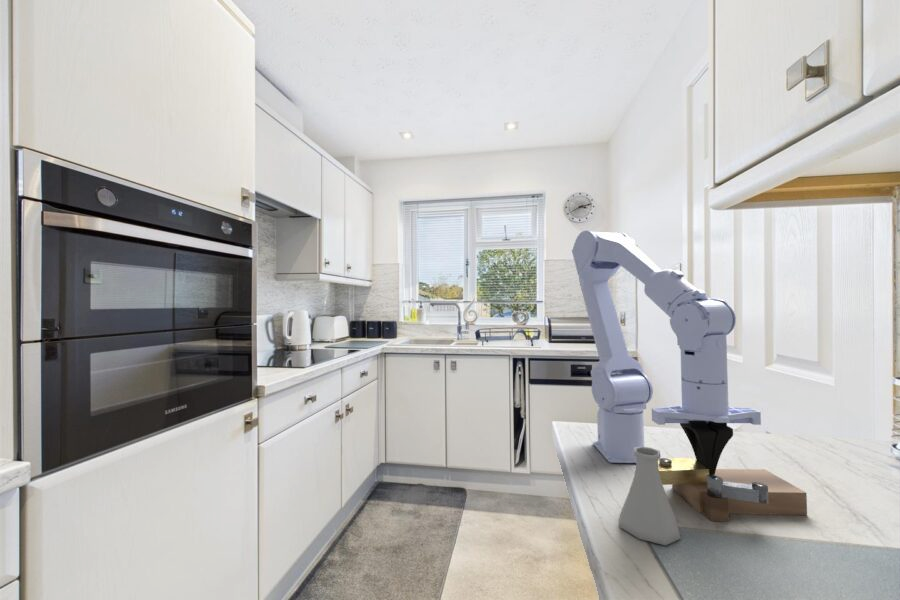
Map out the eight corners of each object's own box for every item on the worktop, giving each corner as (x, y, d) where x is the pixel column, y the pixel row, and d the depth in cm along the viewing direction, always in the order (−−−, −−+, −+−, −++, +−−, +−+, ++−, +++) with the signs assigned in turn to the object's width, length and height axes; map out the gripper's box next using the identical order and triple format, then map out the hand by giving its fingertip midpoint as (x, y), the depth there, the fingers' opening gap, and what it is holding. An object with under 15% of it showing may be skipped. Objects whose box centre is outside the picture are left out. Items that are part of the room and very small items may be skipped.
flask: (609, 528, 48) (607, 451, 48) (629, 506, 53) (627, 436, 53) (672, 555, 42) (670, 468, 43) (688, 527, 47) (686, 450, 48)
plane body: (672, 487, 57) (671, 468, 57) (765, 489, 57) (765, 469, 57) (708, 520, 49) (707, 498, 49) (819, 522, 48) (818, 499, 48)
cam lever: (764, 497, 48) (764, 481, 48) (771, 505, 47) (770, 487, 47) (705, 489, 51) (704, 474, 51) (709, 496, 49) (708, 479, 49)
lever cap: (646, 472, 57) (645, 455, 57) (692, 470, 57) (691, 453, 57) (660, 484, 53) (658, 466, 53) (709, 483, 53) (708, 465, 53)
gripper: (667, 386, 51) (670, 484, 51) (777, 385, 50) (780, 485, 50) (644, 376, 58) (646, 462, 58) (739, 376, 57) (742, 463, 57)
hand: (706, 471), depth 54 cm, fingers closed
